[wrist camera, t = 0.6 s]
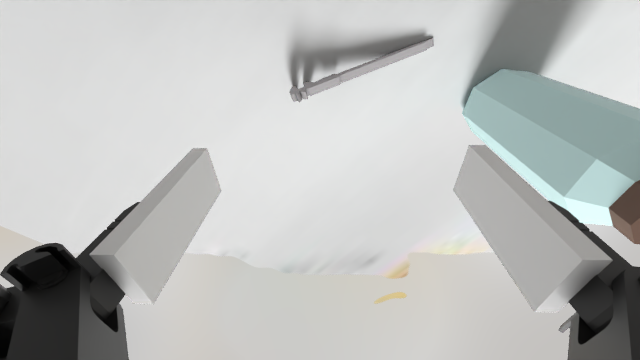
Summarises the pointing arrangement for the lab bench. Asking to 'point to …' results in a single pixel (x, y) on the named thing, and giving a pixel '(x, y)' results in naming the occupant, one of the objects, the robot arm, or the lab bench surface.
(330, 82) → the caliper
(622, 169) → the water bottle
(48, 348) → the robot arm
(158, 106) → the lab bench surface
